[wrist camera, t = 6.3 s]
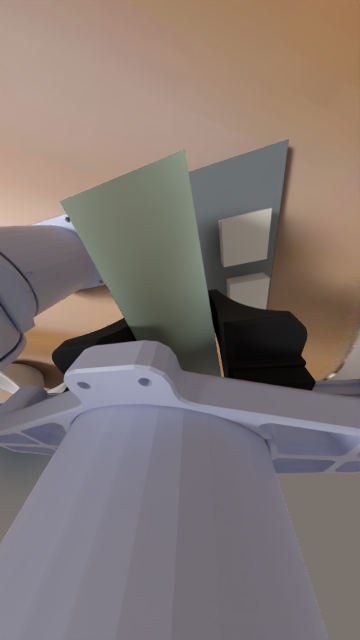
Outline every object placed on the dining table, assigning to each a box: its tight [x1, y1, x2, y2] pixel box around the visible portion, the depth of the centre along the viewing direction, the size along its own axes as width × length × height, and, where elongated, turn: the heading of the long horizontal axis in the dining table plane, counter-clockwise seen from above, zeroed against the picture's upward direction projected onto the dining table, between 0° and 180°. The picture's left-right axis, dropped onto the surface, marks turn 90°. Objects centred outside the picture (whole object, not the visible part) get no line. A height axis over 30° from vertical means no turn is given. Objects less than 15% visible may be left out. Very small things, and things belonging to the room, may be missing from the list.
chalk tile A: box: [226, 272, 270, 309], centre depth 17 cm, size 4×4×2 cm
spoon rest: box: [0, 363, 67, 394], centre depth 31 cm, size 24×12×7 cm, turn 103°
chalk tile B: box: [218, 208, 272, 267], centre depth 14 cm, size 4×4×2 cm
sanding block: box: [60, 150, 221, 377], centre depth 11 cm, size 4×14×7 cm, turn 14°
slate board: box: [188, 139, 289, 332], centre depth 17 cm, size 12×18×1 cm, turn 12°
